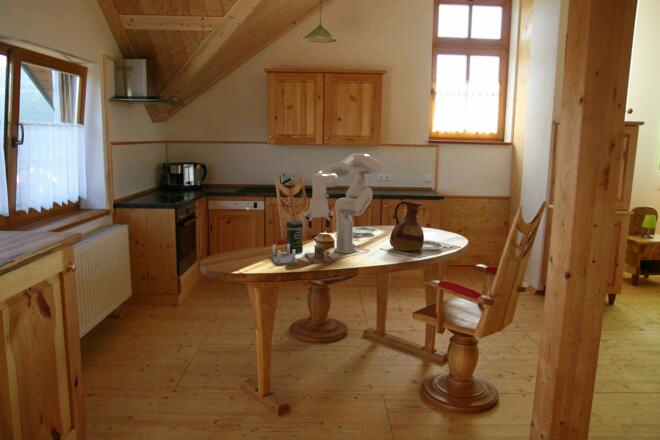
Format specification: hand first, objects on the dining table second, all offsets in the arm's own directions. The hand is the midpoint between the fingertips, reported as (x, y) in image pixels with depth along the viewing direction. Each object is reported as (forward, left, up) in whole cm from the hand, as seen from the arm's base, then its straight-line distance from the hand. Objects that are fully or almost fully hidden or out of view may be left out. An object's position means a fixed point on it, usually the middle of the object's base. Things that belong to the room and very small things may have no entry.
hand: (318, 227), depth 286 cm
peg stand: (+20, 0, -17) cm, 26 cm away
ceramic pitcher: (-56, -7, -18) cm, 60 cm away
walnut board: (0, 0, -18) cm, 18 cm away
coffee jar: (+10, -18, -18) cm, 27 cm away
